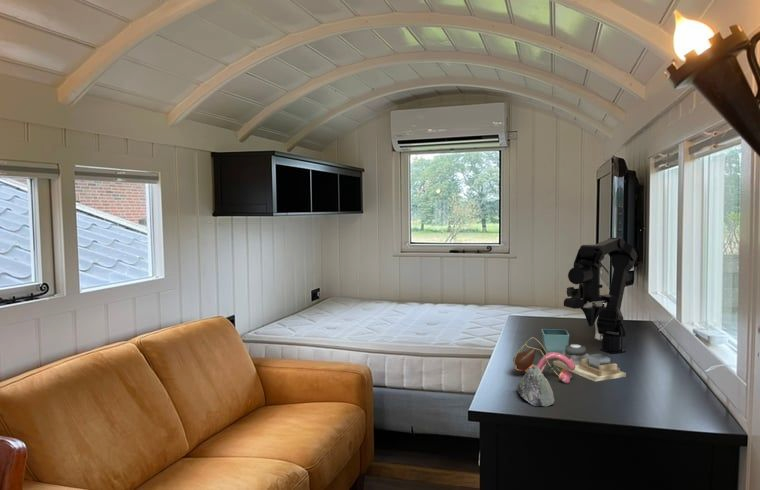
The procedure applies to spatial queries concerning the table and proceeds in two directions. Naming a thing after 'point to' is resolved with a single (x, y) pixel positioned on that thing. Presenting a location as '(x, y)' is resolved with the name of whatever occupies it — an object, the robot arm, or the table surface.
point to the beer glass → (597, 335)
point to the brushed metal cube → (598, 360)
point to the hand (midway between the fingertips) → (590, 326)
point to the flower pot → (555, 340)
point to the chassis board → (591, 368)
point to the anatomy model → (543, 361)
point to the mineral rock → (535, 388)
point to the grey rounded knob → (575, 349)
